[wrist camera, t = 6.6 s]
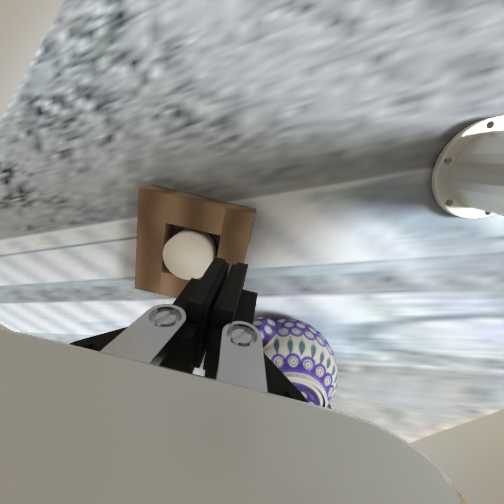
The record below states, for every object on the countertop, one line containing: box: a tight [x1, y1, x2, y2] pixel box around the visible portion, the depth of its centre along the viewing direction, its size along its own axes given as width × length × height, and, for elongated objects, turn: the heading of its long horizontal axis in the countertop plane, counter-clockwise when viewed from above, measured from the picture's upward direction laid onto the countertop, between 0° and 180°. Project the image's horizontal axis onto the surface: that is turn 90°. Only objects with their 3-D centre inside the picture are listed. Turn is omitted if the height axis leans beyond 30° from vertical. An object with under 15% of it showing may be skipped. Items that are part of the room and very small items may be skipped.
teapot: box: [253, 317, 337, 409], centre depth 38 cm, size 25×15×15 cm, turn 35°
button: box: [163, 228, 216, 280], centre depth 36 cm, size 7×7×4 cm
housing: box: [135, 185, 256, 298], centre depth 38 cm, size 16×16×4 cm
